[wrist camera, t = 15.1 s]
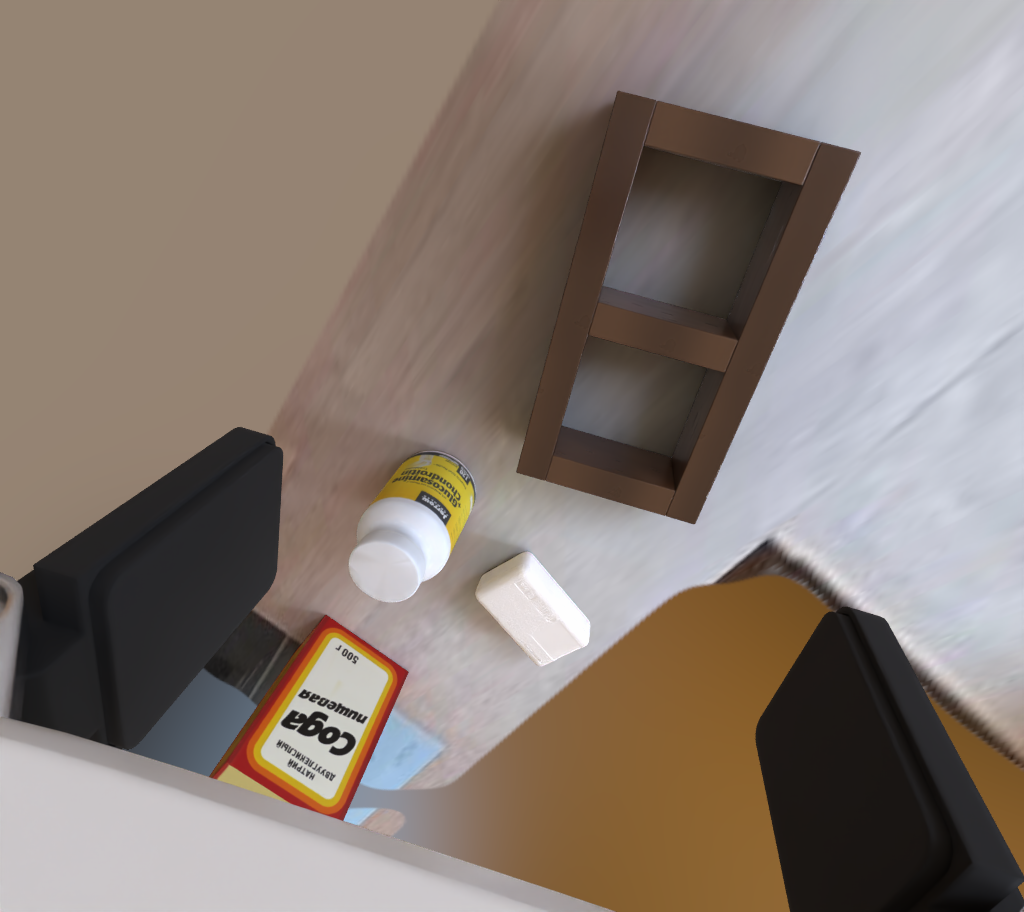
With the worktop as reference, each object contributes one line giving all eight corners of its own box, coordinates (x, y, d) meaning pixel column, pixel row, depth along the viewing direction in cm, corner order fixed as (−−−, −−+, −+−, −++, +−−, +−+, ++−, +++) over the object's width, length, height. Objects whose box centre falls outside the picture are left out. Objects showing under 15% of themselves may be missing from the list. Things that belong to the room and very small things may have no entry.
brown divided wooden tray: (527, 441, 45) (516, 472, 41) (619, 98, 35) (617, 90, 30) (689, 488, 44) (694, 525, 40) (832, 152, 34) (862, 152, 30)
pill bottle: (494, 484, 47) (455, 575, 37) (446, 533, 50) (397, 631, 40) (428, 430, 46) (368, 509, 36) (383, 484, 49) (316, 571, 39)
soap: (478, 574, 51) (469, 597, 49) (529, 545, 49) (523, 567, 46) (542, 646, 54) (537, 672, 51) (594, 622, 51) (592, 647, 49)
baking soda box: (295, 651, 60) (188, 805, 45) (325, 614, 57) (222, 767, 42) (374, 705, 61) (295, 871, 47) (408, 671, 58) (335, 838, 44)
